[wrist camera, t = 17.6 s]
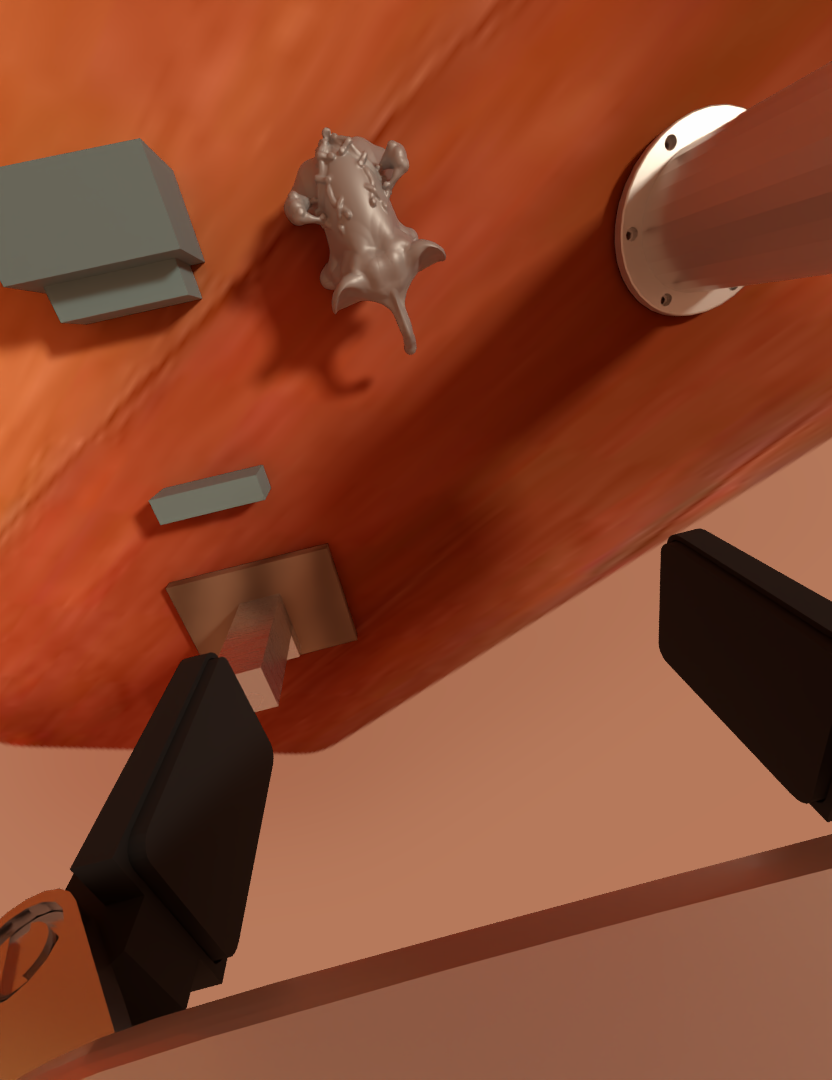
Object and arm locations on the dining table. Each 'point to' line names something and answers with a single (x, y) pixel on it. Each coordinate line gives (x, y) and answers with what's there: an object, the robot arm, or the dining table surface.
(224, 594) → the walnut board
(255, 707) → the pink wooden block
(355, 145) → the grey monster figurine
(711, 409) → the dining table surface
